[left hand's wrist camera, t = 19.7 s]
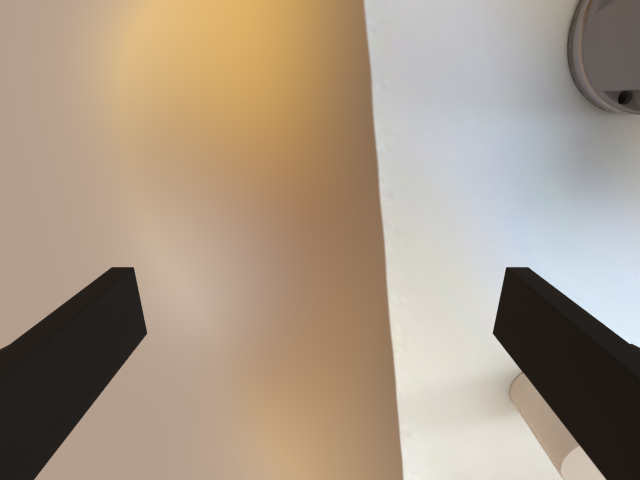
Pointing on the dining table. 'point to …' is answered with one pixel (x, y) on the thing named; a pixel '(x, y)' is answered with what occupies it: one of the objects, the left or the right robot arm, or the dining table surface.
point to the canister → (552, 433)
